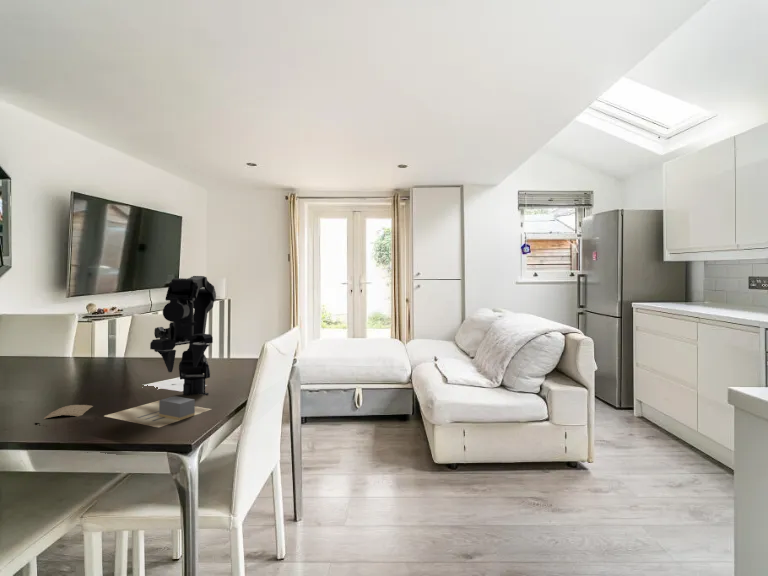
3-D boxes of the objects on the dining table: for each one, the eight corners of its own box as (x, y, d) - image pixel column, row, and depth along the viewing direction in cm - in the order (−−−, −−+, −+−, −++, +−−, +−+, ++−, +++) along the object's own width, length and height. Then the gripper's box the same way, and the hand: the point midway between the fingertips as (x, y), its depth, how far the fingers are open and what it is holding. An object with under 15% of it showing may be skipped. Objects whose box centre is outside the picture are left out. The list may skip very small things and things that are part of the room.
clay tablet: (102, 411, 130) (102, 402, 130) (92, 421, 120) (92, 412, 120) (45, 416, 125) (45, 406, 125) (29, 427, 115) (29, 417, 115)
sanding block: (174, 411, 124) (174, 396, 124) (194, 415, 121) (194, 399, 121) (159, 416, 120) (159, 400, 120) (179, 420, 117) (180, 403, 117)
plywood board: (159, 404, 136) (159, 400, 136) (211, 413, 127) (212, 409, 127) (103, 420, 120) (103, 415, 120) (158, 432, 111) (158, 427, 111)
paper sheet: (210, 388, 157) (210, 386, 157) (121, 407, 136) (121, 404, 136) (184, 378, 174) (184, 375, 174) (101, 393, 153) (101, 390, 152)
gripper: (189, 315, 144) (188, 362, 144) (137, 320, 126) (137, 372, 127) (214, 317, 139) (213, 365, 139) (164, 321, 122) (163, 376, 122)
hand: (183, 369), depth 132 cm, fingers open, 9 cm apart
